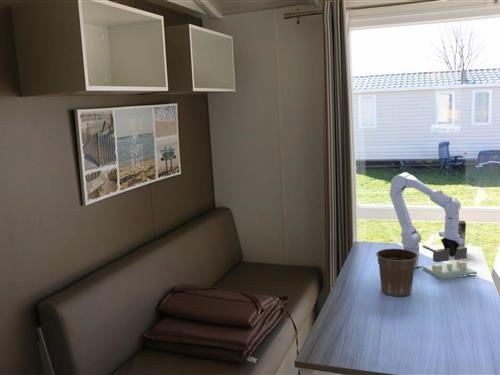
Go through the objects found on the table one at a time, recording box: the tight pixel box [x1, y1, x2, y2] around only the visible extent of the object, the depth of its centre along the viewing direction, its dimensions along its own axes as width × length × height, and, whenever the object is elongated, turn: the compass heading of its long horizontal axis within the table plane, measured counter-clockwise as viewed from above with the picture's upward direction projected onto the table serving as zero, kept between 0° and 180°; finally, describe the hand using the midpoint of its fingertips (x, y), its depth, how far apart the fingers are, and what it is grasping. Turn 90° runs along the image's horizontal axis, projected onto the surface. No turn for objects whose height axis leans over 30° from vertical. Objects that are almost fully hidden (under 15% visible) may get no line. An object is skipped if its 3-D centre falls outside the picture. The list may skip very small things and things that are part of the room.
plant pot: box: [375, 248, 418, 297], centre depth 214 cm, size 16×16×16 cm
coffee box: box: [458, 220, 467, 247], centre depth 263 cm, size 9×6×16 cm
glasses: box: [422, 244, 468, 263], centre depth 238 cm, size 16×10×5 cm, turn 106°
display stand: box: [422, 260, 478, 281], centre depth 235 cm, size 18×14×4 cm
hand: (450, 255), depth 234 cm, fingers closed on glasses, 2 cm apart
